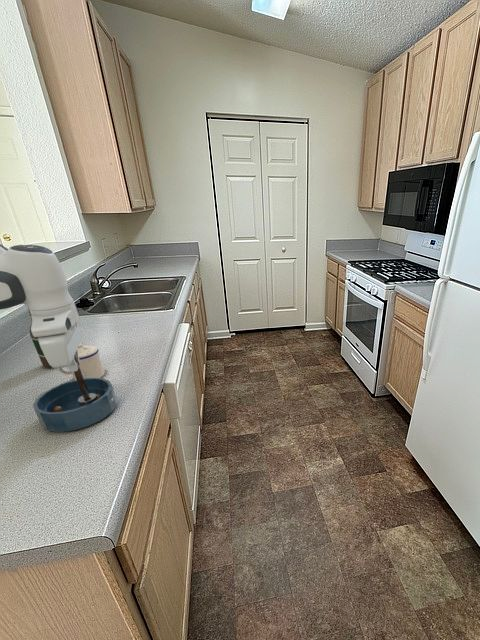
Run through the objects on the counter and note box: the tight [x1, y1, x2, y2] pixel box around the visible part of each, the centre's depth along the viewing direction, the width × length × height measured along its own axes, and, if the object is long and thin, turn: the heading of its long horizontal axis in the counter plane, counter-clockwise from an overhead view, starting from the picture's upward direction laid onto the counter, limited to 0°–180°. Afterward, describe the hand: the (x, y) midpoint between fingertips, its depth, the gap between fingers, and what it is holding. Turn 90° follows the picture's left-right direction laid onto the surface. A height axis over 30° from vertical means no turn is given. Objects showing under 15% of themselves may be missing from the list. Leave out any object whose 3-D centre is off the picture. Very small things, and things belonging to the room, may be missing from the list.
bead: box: [53, 406, 63, 412], centre depth 89 cm, size 2×2×2 cm
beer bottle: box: [26, 305, 54, 369], centre depth 112 cm, size 8×8×24 cm
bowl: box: [33, 377, 118, 433], centre depth 89 cm, size 18×18×6 cm
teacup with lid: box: [57, 342, 106, 380], centre depth 105 cm, size 12×9×12 cm
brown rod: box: [74, 355, 98, 407], centre depth 86 cm, size 4×4×18 cm
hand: (75, 367), depth 85 cm, fingers closed on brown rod
